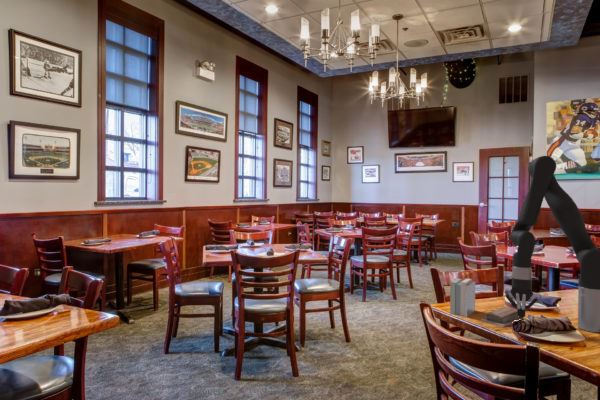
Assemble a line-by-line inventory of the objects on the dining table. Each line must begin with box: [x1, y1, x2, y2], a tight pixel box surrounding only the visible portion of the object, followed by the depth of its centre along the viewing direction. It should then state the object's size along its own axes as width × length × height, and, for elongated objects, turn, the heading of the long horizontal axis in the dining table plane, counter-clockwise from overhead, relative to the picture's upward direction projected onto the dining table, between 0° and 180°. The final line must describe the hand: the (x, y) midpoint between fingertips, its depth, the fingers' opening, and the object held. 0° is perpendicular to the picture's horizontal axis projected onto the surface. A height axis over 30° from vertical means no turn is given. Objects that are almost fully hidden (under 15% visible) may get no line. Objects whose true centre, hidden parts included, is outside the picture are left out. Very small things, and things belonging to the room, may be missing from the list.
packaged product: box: [480, 306, 525, 328], centre depth 180 cm, size 18×5×10 cm
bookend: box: [450, 280, 476, 318], centre depth 192 cm, size 8×14×14 cm, turn 143°
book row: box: [449, 278, 473, 317], centre depth 192 cm, size 7×10×15 cm
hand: (521, 317), depth 176 cm, fingers closed
